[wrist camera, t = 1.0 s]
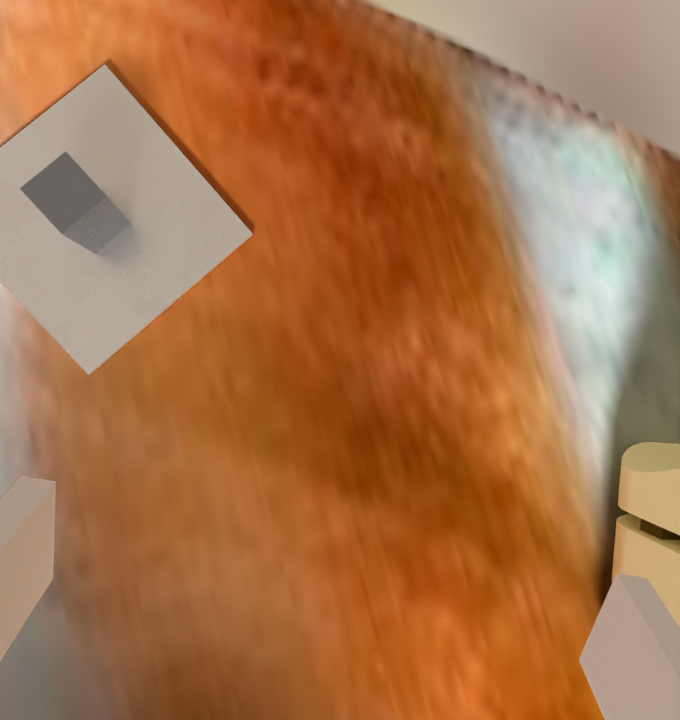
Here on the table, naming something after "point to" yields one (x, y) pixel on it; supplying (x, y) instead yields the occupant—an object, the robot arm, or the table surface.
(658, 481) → the slatted curved stool
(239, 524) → the table surface
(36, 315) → the square grey base plate
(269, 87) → the table surface
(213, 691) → the table surface
